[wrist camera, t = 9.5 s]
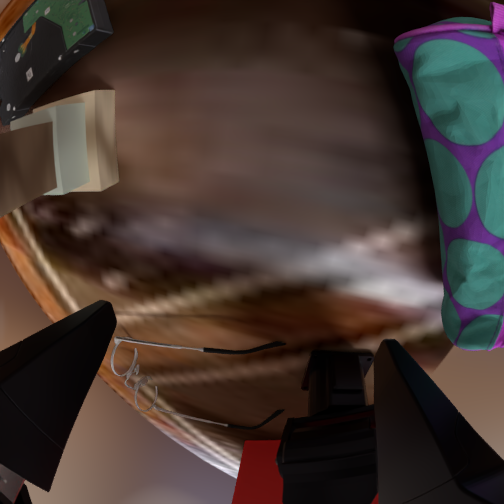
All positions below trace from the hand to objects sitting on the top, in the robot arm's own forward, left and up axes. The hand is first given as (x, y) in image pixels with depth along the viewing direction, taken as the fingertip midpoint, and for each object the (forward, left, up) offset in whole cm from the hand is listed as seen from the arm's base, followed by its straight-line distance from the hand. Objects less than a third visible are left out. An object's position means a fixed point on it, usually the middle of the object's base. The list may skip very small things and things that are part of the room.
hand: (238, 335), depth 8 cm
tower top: (+5, +16, -10) cm, 20 cm away
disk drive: (+15, +21, -13) cm, 29 cm away
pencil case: (+4, -14, -13) cm, 19 cm away
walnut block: (+5, +16, -7) cm, 18 cm away
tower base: (+5, +16, -13) cm, 21 cm away
